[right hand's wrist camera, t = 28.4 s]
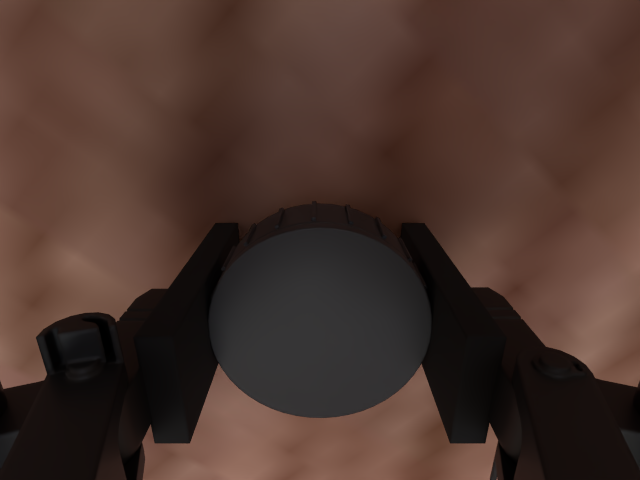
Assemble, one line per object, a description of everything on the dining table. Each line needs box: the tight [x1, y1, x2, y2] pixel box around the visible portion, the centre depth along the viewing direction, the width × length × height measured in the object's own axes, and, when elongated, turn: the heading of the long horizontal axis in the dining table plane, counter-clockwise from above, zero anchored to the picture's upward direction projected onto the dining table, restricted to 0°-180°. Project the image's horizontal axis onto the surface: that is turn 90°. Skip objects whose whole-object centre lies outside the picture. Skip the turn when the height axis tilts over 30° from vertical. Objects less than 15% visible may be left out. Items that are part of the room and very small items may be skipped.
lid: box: [208, 201, 432, 418], centre depth 11 cm, size 6×6×2 cm
